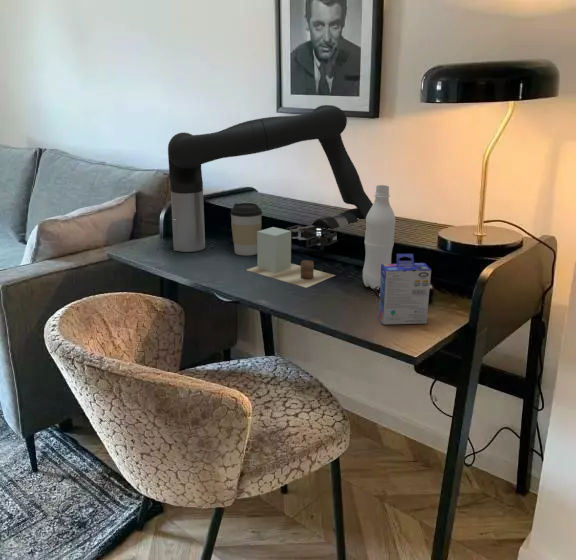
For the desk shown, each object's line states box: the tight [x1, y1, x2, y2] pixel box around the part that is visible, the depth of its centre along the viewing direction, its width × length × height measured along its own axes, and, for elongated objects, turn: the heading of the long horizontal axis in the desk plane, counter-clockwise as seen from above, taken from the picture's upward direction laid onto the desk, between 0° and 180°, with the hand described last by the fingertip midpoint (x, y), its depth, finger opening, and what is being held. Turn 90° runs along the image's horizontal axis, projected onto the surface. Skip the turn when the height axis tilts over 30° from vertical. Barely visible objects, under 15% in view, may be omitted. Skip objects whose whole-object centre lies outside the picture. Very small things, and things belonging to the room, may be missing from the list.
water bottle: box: [362, 184, 396, 290], centre depth 147 cm, size 7×7×25 cm
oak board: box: [246, 259, 336, 288], centre depth 156 cm, size 20×12×5 cm, turn 50°
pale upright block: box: [256, 226, 292, 273], centre depth 158 cm, size 6×6×10 cm
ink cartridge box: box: [378, 253, 432, 325], centre depth 129 cm, size 10×6×14 cm, turn 95°
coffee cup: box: [229, 202, 263, 256], centre depth 171 cm, size 9×9×15 cm
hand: (294, 240), depth 164 cm, fingers open, 8 cm apart
